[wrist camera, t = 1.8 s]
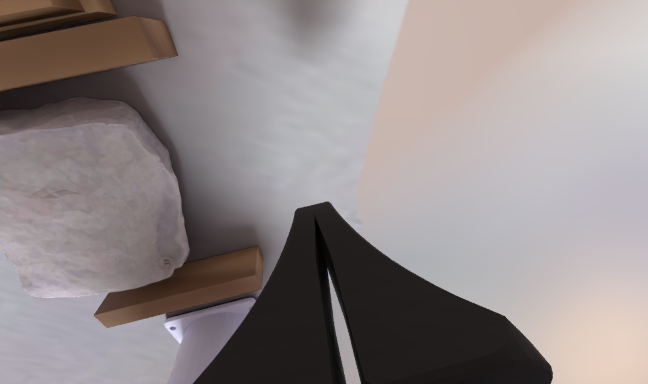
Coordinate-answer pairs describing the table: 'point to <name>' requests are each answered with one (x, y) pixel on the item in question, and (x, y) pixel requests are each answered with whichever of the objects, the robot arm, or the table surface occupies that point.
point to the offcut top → (35, 10)
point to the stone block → (87, 199)
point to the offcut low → (62, 19)
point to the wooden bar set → (101, 55)
